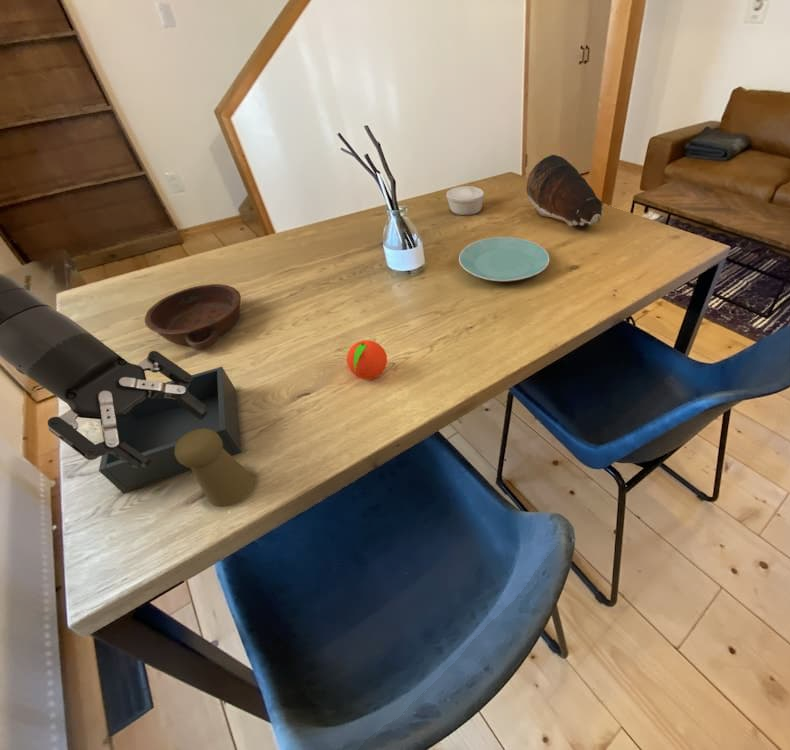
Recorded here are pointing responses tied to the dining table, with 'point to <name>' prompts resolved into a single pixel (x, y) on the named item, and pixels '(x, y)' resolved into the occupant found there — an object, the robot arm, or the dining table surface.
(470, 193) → the ramekin
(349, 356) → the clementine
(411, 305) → the dining table surface
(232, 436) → the bin
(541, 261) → the plate
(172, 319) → the dish
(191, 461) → the cork
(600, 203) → the taro root
